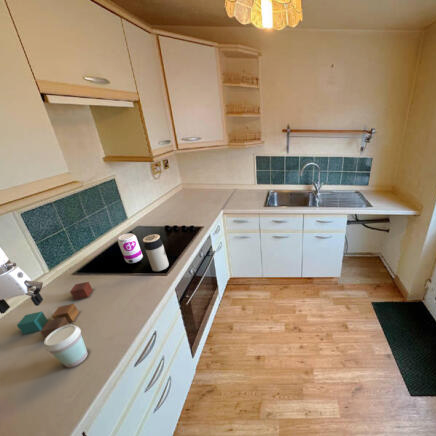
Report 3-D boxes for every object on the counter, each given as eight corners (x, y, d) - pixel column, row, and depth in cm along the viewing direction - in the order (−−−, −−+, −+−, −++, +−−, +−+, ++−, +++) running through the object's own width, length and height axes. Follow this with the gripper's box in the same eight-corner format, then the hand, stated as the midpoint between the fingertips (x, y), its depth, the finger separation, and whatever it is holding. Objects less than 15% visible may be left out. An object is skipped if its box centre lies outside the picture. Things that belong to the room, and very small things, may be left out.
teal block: (23, 334, 85) (16, 325, 83) (32, 324, 89) (25, 314, 87) (40, 330, 87) (33, 321, 85) (48, 320, 91) (41, 311, 89)
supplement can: (144, 260, 127) (135, 236, 121) (126, 265, 123) (117, 242, 116) (142, 253, 133) (134, 231, 127) (125, 258, 129) (116, 235, 122)
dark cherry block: (74, 300, 101) (69, 291, 98) (79, 292, 105) (75, 284, 103) (88, 297, 102) (83, 288, 100) (92, 289, 106) (88, 281, 104)
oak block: (57, 325, 89) (51, 316, 86) (64, 315, 93) (58, 306, 91) (73, 321, 90) (67, 312, 88) (79, 312, 94) (73, 303, 92)
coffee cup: (94, 342, 82) (80, 318, 77) (91, 362, 75) (75, 337, 70) (62, 355, 78) (45, 331, 72) (56, 377, 71) (37, 352, 66)
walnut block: (47, 341, 83) (40, 331, 80) (54, 329, 87) (48, 320, 85) (64, 336, 84) (57, 327, 82) (70, 325, 88) (64, 316, 86)
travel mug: (150, 272, 117) (139, 242, 109) (155, 263, 124) (145, 234, 116) (166, 270, 118) (157, 240, 111) (170, 261, 126) (162, 233, 118)
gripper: (35, 257, 82) (57, 293, 89) (-30, 269, 77) (0, 306, 84) (20, 269, 76) (46, 307, 83) (-51, 283, 71) (-17, 321, 78)
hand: (23, 306), depth 84 cm, fingers open, 9 cm apart
